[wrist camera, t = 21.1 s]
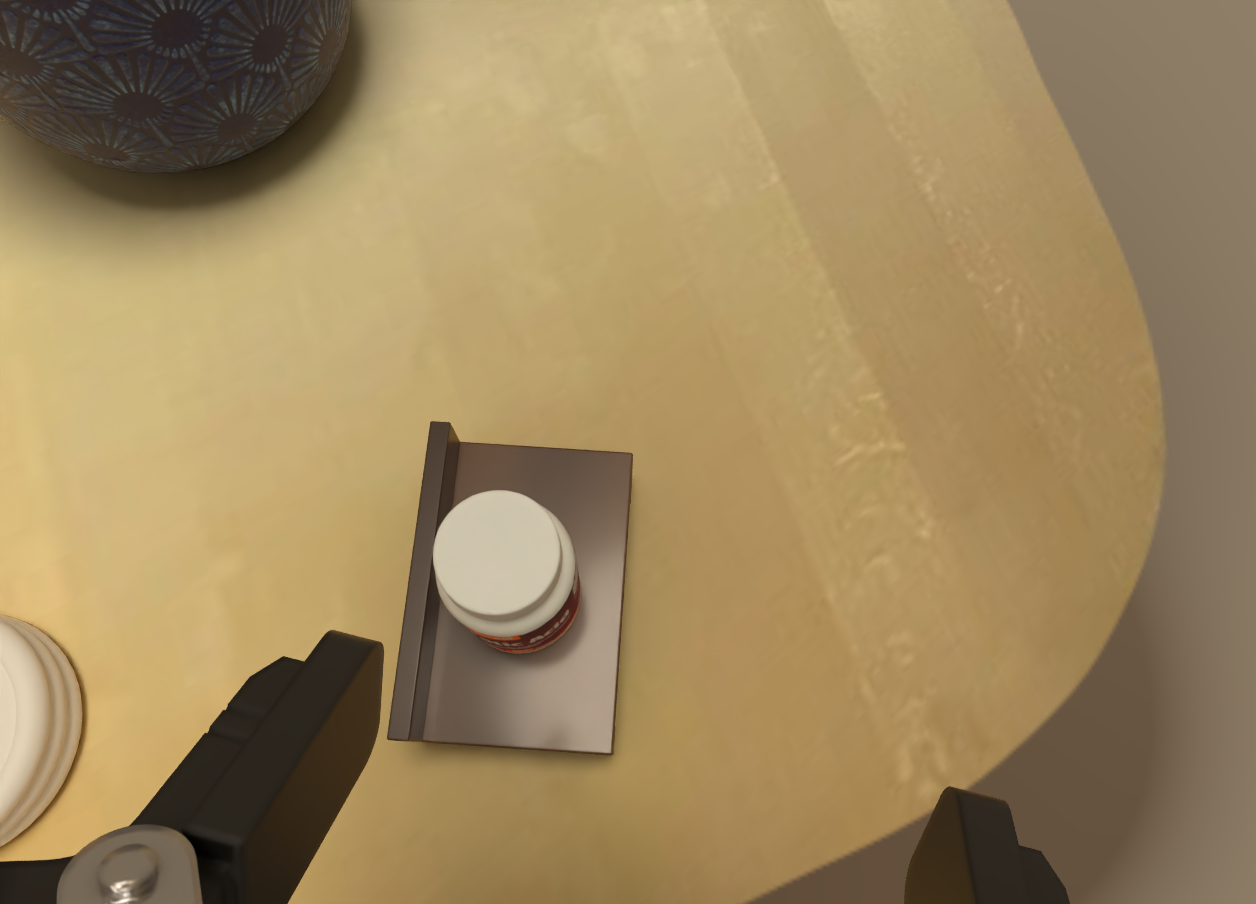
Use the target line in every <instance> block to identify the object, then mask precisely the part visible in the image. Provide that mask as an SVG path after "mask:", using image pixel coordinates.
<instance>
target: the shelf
mask: <svg viewBox="0 0 1256 904" xmlns="http://www.w3.org/2000/svg"><path fill="white" fill-rule="evenodd" d="M632 466H633V454H632V453H624V452H609V451H593V450H578V449H562V448H547V447H532V446H516V445H501V444H485V443H470V442H460V441H459V439H458V437H457V435H456V433H455V431H454V429H453V427H452V425H451V423H449V422H434V421H432V422H430V429H429V436H428V443H427V451H426V458H425V465H424V472H423V480H422V487H421V494H420V502H419V509H418V516H417V523H416V531H415V538H414V545H413V553H412V560H411V567H410V574H409V582H408V589H407V596H406V603H405V611H404V618H403V625H402V633H401V640H400V647H399V654H398V662H397V669H396V676H395V684H394V691H393V698H392V705H391V713H390V720H389V727H388V735H387V739H388V740H396V741H411V742H427V743H442V744H456V745H471V746H485V747H500V748H514V749H529V750H543V751H558V752H572V753H587V754H601V755H613V754H614V741H615V716H616V701H617V686H618V672H619V657H620V642H621V627H622V612H623V597H624V582H625V568H626V553H627V538H628V523H629V508H630V502H631V487H632ZM493 490H506V491H512V492H516V493H520V494H522V495H525V496H527V497H529V498H530V499H532V500H534V501H535V502H536V503H538V504H539V505H541V506H543V507H544V508H546V509H547V510H549V511H550V512H551V513H552V514H554V515H555V516H556V517H557V518H558V520H559V521H560V522H561V523H562V524H563V526H564V527H565V529H566V531H567V532H568V534H569V536H570V538H571V541H572V544H573V547H574V551H575V559H576V563H577V567H578V573H579V578H580V586H581V598H580V604H579V608H578V612H577V614H576V617H575V619H574V621H573V623H572V624H571V626H570V627H569V629H568V630H567V631H566V632H565V634H564V635H563V636H562V637H560V638H559V639H558V640H557V641H555V642H554V643H553V644H551V645H549V646H547V647H545V648H543V649H541V650H538V651H535V652H531V653H523V654H514V653H507V652H503V651H500V650H497V649H495V648H493V647H491V646H489V645H488V644H486V643H485V642H483V641H482V640H481V639H480V638H479V637H477V636H476V635H475V634H474V633H472V632H471V631H469V630H468V628H466V627H465V626H464V625H463V624H462V623H460V622H459V621H458V620H457V619H456V618H455V617H454V616H453V615H452V614H451V613H450V612H449V611H448V610H447V608H446V606H445V605H444V603H443V601H442V599H441V597H440V594H439V592H438V587H437V583H436V576H435V570H434V564H433V547H434V541H435V537H436V534H437V531H438V529H439V527H440V525H441V523H442V522H443V520H444V519H445V517H446V516H447V515H448V513H449V512H450V511H451V510H452V509H453V508H454V507H456V506H457V505H458V504H459V503H461V502H462V501H464V500H465V499H467V498H469V497H471V496H473V495H476V494H478V493H482V492H486V491H493Z"/></svg>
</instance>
